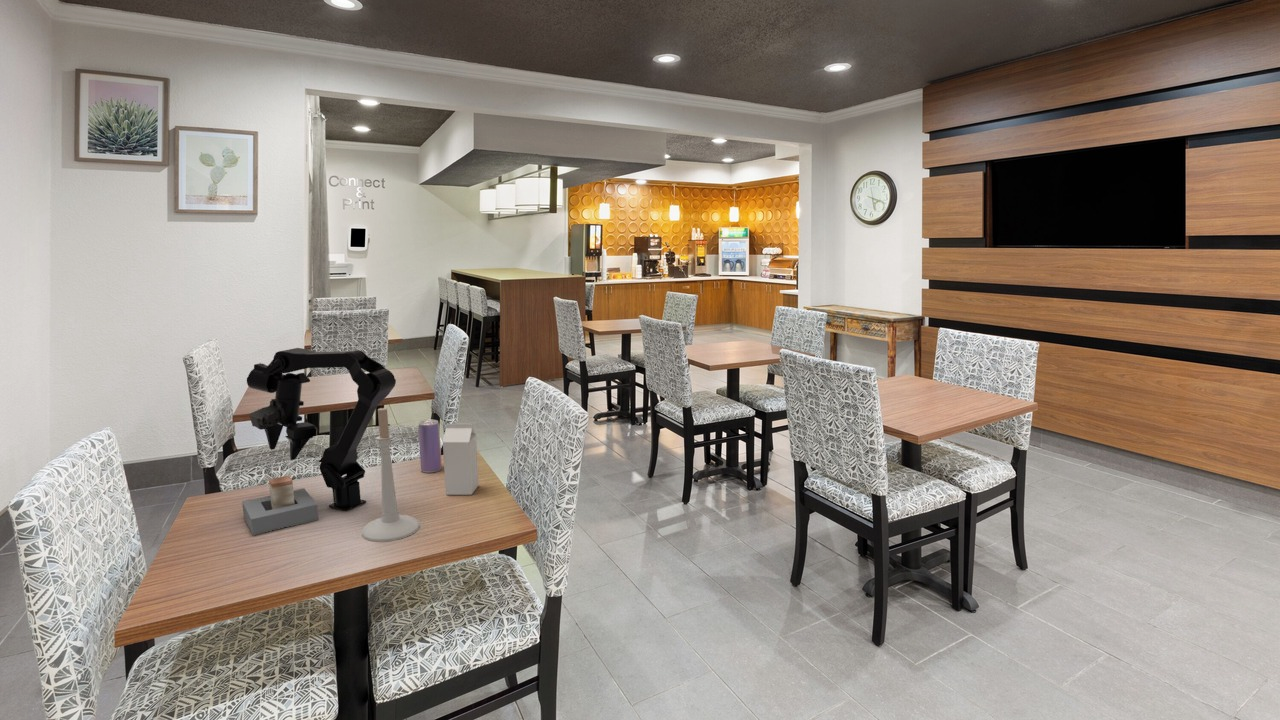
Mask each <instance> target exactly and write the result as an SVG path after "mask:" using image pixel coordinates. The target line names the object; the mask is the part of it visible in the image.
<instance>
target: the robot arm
mask: <svg viewBox="0 0 1280 720" xmlns="http://www.w3.org/2000/svg"><path fill="white" fill-rule="evenodd" d="M272 358H273V359H272V360H271V361H270V363H269V364H268V365H266V364H264V363H261V362H259V363H256V364H255V363H254V365H253V368H252V369H251V371H250V372H249V374H248V376H247V377H246V384H247V387H248V388H250V389H252V390H256V391H257V390H258V391H261V392H264V393H265V392H266V393H268V394H274V393H275V396H274V398H272V399H271V400H270V401H269V405H267V406H265V407H262V408H258V409H257V410H255V411H253V412H251V413H249V414H248V415H249V418H250V422H251V424H252V425H251V426H252V427H255V428H257V429H259V430H264V432H265V434H266V439H267V444H268V446H269V449H270V450H271V451H272V450H276V449H275V448H276V447H277V445H278V441H279V439H280V436H281V434H282V431H283V428H284V427H285V429H286V431H285V432H286V435H285V438H286V439H287V440H288V441H289V458H290V461H293V460H296V459H297V458H298V456H299V455H300V453H301V451H302V450H303V448H304V447H305V445H306V444H307V443H308V442H309V440H310V439H313V438H314V437H317V435H318V427H317V426H316V425H315V424H312V423H310V422H308V421H305V422H301V421H303V416H302V415H300V409H301V408H300V407H303V406H304V404H305V402H304V401H303V400H301V395H302V387H303V384H306V383H310V382H311V379H310V378H309V377H308V376H307V375H306V374H305V372H299V373H296V374H295V373H293V372H298V371H301V370H306V369H319V368H321V369H323V368H324V369H325V368H327V369H329V368H330V369H331V368H345V369H346V370H347V371H348V373H349V375H350V377H351V380H352V381H353V382H354V383H355V384H356V385H357V388H356V393H357V401H356V404H355V406H354V407H353V411H352V412H351V415H350V417H349V418H348V421H347V424H346V425H345V427H344V429H343V431H342V433H341V435H340V438H339V439H338V442H337V443H336V444H333V445H331V446H329V447H327V448H325V449H324V450H323V454H322V457H321V458H320V459H319V461H318V463H320V464H319V470H320V474H321V476H322V478H323V480H324V483H325V485H326V486H325V487H327V488H329V489H330V488H331V490H332V500H333V503H331V504H329V505H328V507H329V508H331V509H336V510H340V511H345V512H346V511H349V510H351V509H354V508H356V507H358V506H361V505H364V504H366V503H367V500H365V499H362V498H361V488H360V487H361V486H360V482H359V480H361V479H363V478H364V477H365V474H366V469H364V468H363V467H362V466H361V464H359V462H358V457H359V456H358V450H357V449H358V447H359V444H360V443H361V441H362V438H363V437H364V434H365V432H366V430H367V428H368V427H369V424H370V422H371V420H372V418H373V416H374V414H375V412H376V409H377V408H378V406H379V405H380V404H381V402H382V401H384V399H386V398H387V397H388V396H389V394H390V393H391V392H392V390H393V389H394V388H395V386H396V383H397V382H396V381H397V380H396V378H395V375H394V373H393V372H392V371H390V370H389V369H387V368H386V367H385V366H384V365H383V364H382V363H381V362H378V361H377V360H375V359H373V358H371V357H369V356H368V354H366V353H365V352H364V351H362V350H359V349H355V350H349V351H346V350H345V351H312V350H310V349H307V348H301V347H295V348H290V349H285V350H278V351H276V352H275V353H274V356H273V357H272ZM365 371H366V372H367V373H366V372H365Z"/></svg>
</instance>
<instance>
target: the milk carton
mask: <svg viewBox="0 0 1280 720" xmlns="http://www.w3.org/2000/svg"><path fill="white" fill-rule="evenodd" d="M442 450H443V452H442V453H443V468H444V469H443V470H444V488H445V495H446V496H447V495H448V496H455V495H456V496H460V495H461V496H471V495H472V494H473V493H474V492H475V491H476V489H478V487H479V469H478V468H479V467H478V447H477V433H476V432H475V430H474V428H473V424H472V423H446V424H445V431H444V434H443V439H442Z"/></svg>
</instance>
